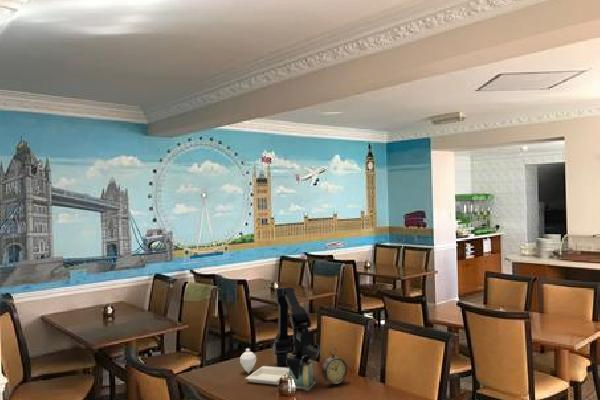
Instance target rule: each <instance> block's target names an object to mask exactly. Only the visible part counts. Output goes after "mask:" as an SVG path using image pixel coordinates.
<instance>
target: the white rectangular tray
mask: <svg viewBox="0 0 600 400" xmlns="http://www.w3.org/2000/svg"><path fill="white" fill-rule="evenodd" d="M286 374H288V375H289V367H281V366H268V365H262V366H261V367H259V368H258V369H257V370H255V371H254V372H252V373H250V375H248V376H247V377H245V380H248V382H250V383H258V384H269V385H276V386H277V385H278V386H280V385H279V381H280V378H281V377H282V376H283V375H286Z"/></svg>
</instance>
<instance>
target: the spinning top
mask: <svg viewBox="0 0 600 400" xmlns="http://www.w3.org/2000/svg"><path fill="white" fill-rule="evenodd" d="M239 362H240V365H241V366H242V367H243V369H244V370H245V371H246V372H247V374H250V373H251V371H252V370H253V368H254V367H255V364H256V362H257V356H256V354H255V353H254V352H252V351H251V349H250V348H245V352H243V353H242V354H241V356H240V357H239Z"/></svg>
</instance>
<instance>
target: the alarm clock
mask: <svg viewBox="0 0 600 400" xmlns="http://www.w3.org/2000/svg"><path fill="white" fill-rule="evenodd" d="M332 349H334V350H335V352H334V353H331V351H332ZM336 353H337V349H336V347H335V346H333V347H331V348H330V349H329V354H330V355H331V356H329V357H327V358H326V359H325V360H324V362H323V364H322V367H321V375H322V377H323V379H324V380H325V381H326V382H328V383H327V386H326V388H329V386H330V384H333V385H338V384H341V383H343V384H345V383H346V382H345V381H344V380H345V379H346V377H347V375H348V366H347V363H346V361H345V360H344V359H342V358H340V357H338V356H335V354H336Z"/></svg>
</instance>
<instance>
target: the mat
mask: <svg viewBox="0 0 600 400" xmlns="http://www.w3.org/2000/svg"><path fill="white" fill-rule="evenodd" d="M316 384H317V381H316V380H315V381H314V380H313V384H312V385H311V386H310V387H303V386H296V388H295V389H299V390H301V389H302V390H303V391H307V392H308V391H309V390H311V389H312V387H314V385H316Z"/></svg>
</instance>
